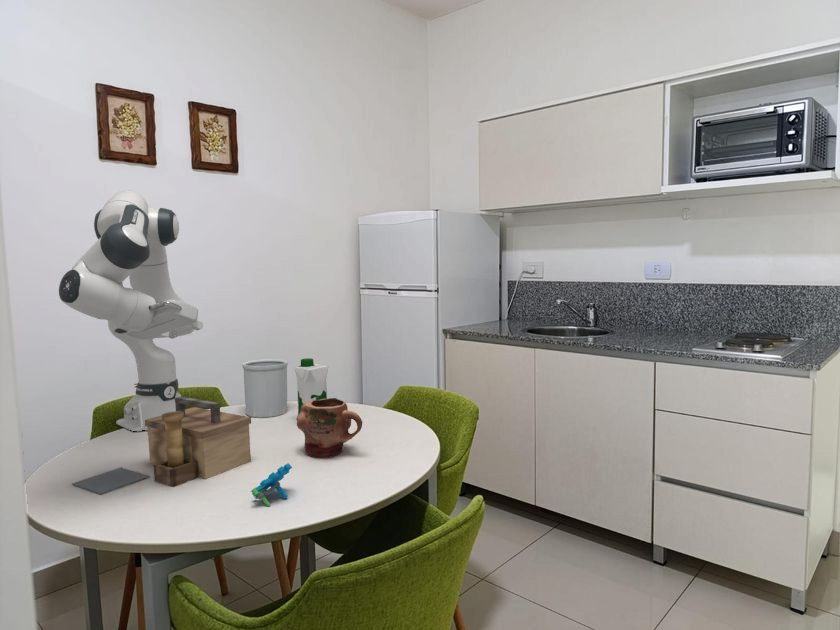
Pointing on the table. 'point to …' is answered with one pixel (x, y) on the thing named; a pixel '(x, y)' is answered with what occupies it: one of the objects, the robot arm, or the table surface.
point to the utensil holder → (265, 387)
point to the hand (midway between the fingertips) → (188, 331)
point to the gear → (272, 484)
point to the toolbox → (200, 442)
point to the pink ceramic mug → (326, 426)
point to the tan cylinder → (174, 438)
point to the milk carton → (310, 382)
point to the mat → (110, 480)
